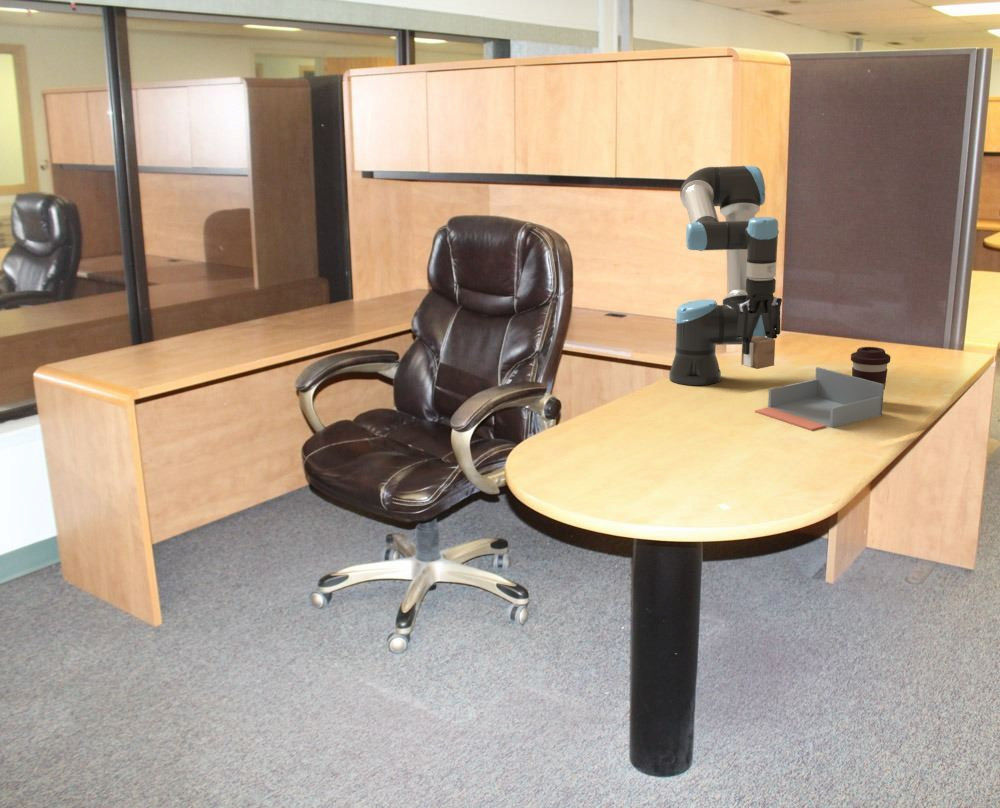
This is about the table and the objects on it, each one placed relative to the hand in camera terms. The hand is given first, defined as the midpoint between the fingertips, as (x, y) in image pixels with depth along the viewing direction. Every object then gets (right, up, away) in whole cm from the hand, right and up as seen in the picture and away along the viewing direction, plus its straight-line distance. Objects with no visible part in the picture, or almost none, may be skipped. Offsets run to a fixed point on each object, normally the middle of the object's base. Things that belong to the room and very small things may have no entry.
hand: (757, 363), depth 271 cm
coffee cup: (+30, -11, +3) cm, 32 cm away
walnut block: (0, 0, 0) cm, 0 cm away
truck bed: (+16, -14, -6) cm, 22 cm away
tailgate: (+7, -14, -11) cm, 19 cm away
